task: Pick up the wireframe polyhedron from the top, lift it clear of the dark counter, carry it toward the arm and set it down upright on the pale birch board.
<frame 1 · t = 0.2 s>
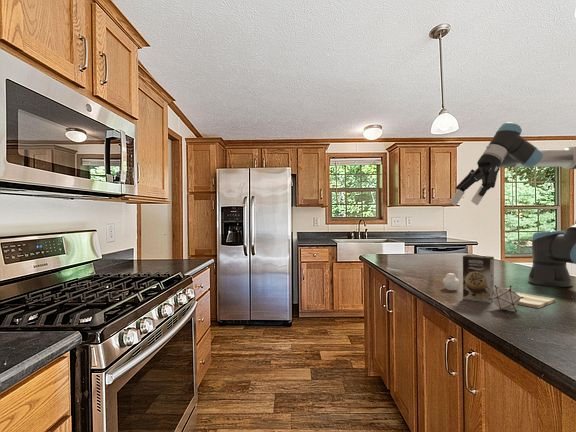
hand: (462, 203, 127), 36 cm above the countertop, tool tilted 35°, fingers open, 13 cm apart
wireframe polyhedron: (505, 311, 106), on the countertop
cookie box: (478, 300, 120), on the countertop
white knobbed ball: (451, 289, 136), on the countertop
birch board: (525, 300, 117), on the countertop
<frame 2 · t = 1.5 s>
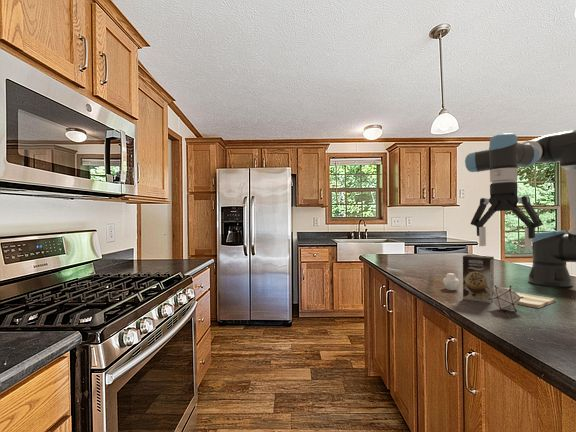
hand: (504, 247, 106), 21 cm above the countertop, tool pointing down, fingers open, 13 cm apart
nothing on the countertop moved.
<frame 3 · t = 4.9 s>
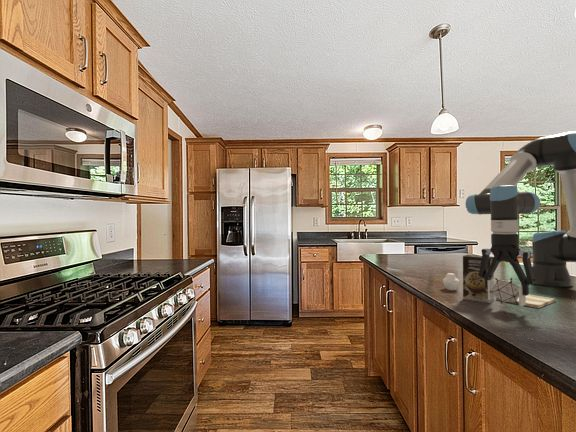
hand: (506, 301, 106), 3 cm above the countertop, tool pointing down, fingers closed on wireframe polyhedron, 8 cm apart
wireframe polyhedron: (506, 303, 106), point 2 cm above the countertop, touching gripper
everything else where it was.
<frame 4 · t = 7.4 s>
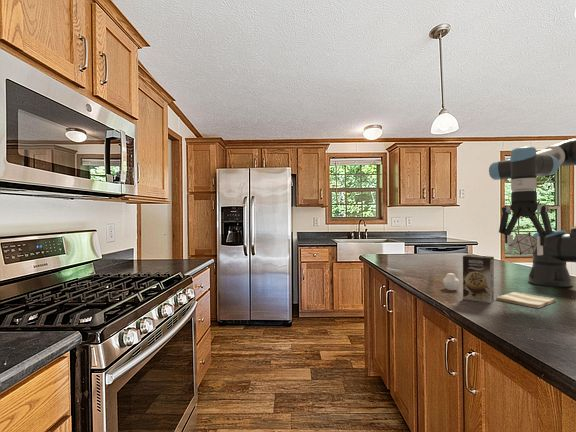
hand: (524, 253, 117), 17 cm above the countertop, tool pointing down, fingers closed on wireframe polyhedron, 8 cm apart
wireframe polyhedron: (525, 254, 117), point 17 cm above the countertop, touching gripper
everything else where it was.
when the fingers open (2 cm above the countertop, at t = 9.9 s): wireframe polyhedron drops 1 cm, resting on birch board.
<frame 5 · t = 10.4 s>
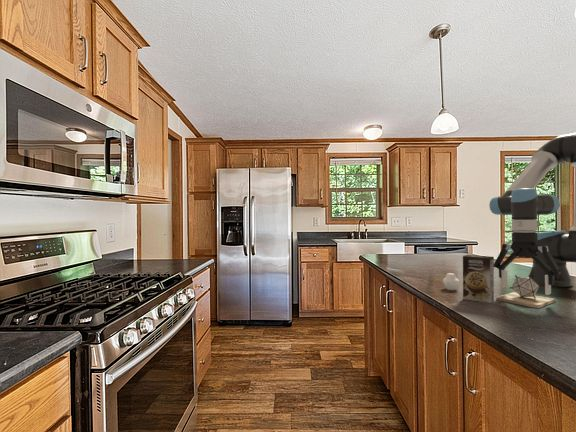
hand: (525, 290, 117), 4 cm above the countertop, tool pointing down, fingers open, 13 cm apart
wireframe polyhedron: (525, 298, 117), point 1 cm above the countertop, touching birch board
everything else where it was.
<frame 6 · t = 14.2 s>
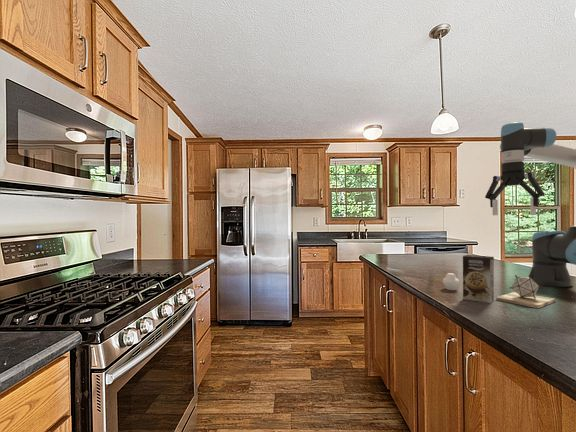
hand: (513, 215, 130), 31 cm above the countertop, tool pointing down, fingers open, 13 cm apart
nothing on the countertop moved.
at the end: wireframe polyhedron 0.4 cm off-centre on the birch board, point 0.8 cm above the birch board's base; wireframe polyhedron tilted 1°; the gripper is holding nothing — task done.
